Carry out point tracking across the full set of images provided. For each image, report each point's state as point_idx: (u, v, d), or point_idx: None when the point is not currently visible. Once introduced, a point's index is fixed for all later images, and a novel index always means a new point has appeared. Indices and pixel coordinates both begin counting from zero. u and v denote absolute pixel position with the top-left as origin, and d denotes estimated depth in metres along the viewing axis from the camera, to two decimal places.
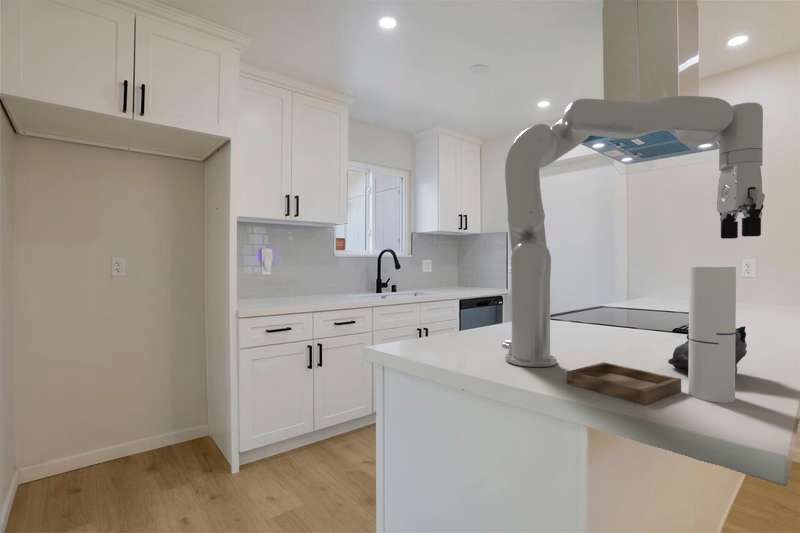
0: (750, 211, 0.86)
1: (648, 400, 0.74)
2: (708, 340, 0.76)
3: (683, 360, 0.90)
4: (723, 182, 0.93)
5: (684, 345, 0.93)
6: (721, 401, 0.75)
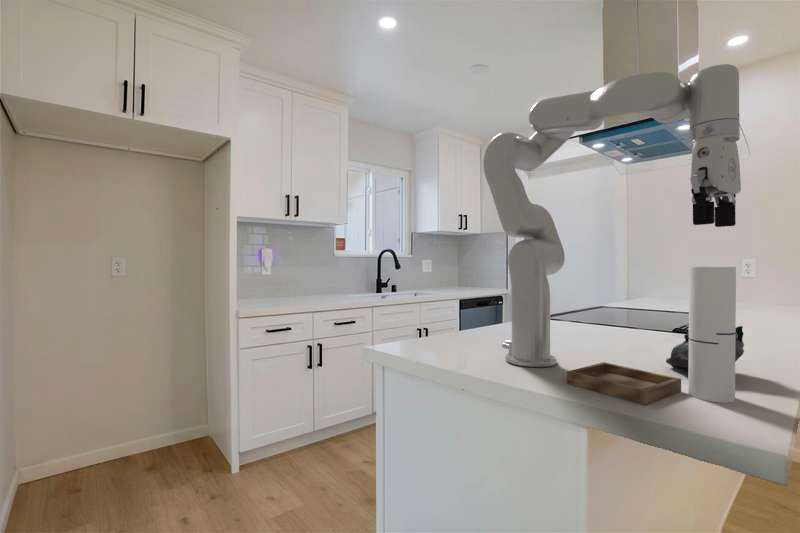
0: None
1: (648, 400, 0.74)
2: (708, 340, 0.76)
3: (681, 360, 0.91)
4: (730, 154, 0.75)
5: (682, 345, 0.93)
6: (721, 401, 0.75)
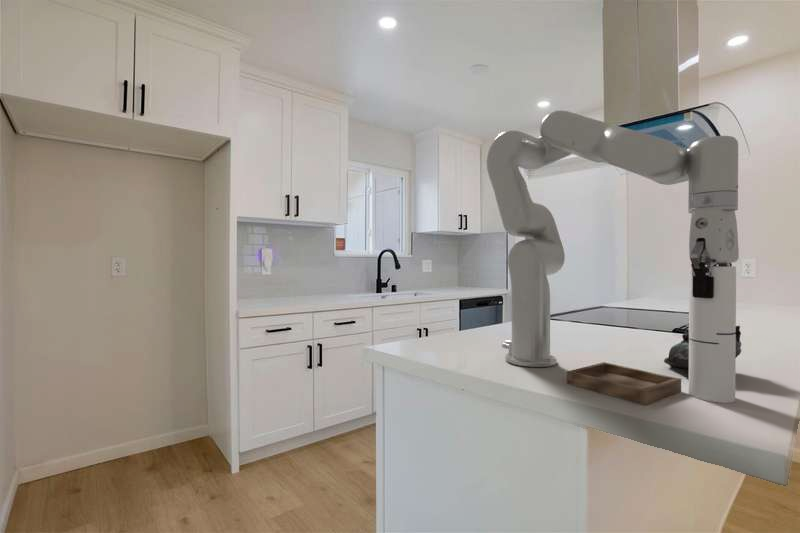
0: None
1: (648, 400, 0.74)
2: (708, 340, 0.76)
3: (679, 359, 0.91)
4: (728, 225, 0.75)
5: (680, 344, 0.94)
6: (721, 401, 0.75)
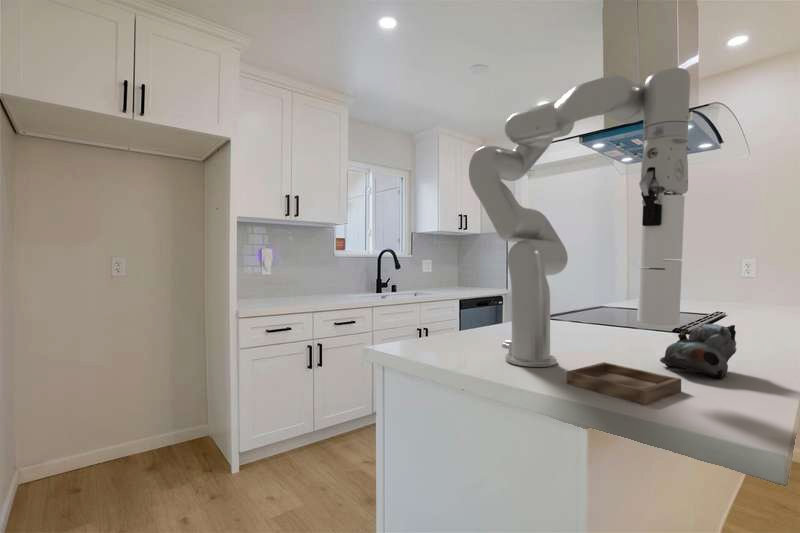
0: None
1: (648, 400, 0.74)
2: (655, 266, 0.79)
3: (676, 359, 0.92)
4: (678, 155, 0.78)
5: (676, 344, 0.94)
6: (665, 324, 0.79)
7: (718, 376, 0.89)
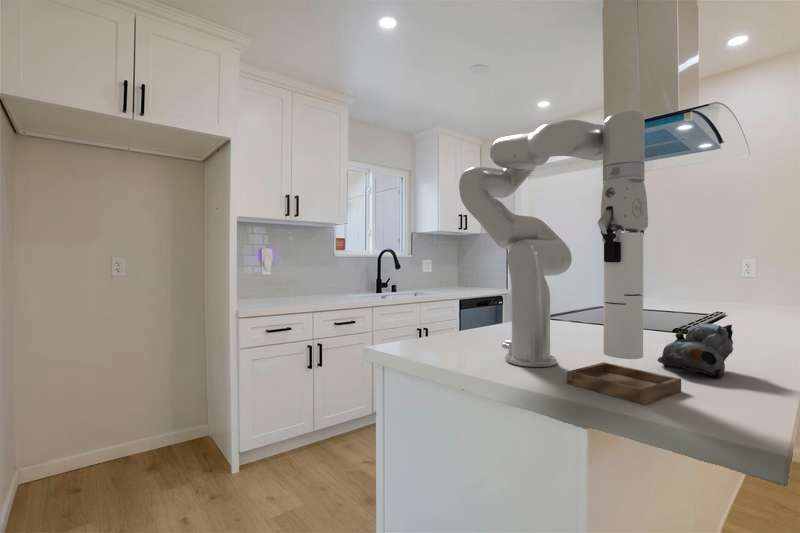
0: None
1: (648, 400, 0.74)
2: (617, 301, 0.81)
3: (674, 358, 0.92)
4: (635, 194, 0.81)
5: (674, 343, 0.95)
6: (628, 357, 0.81)
7: (715, 375, 0.90)
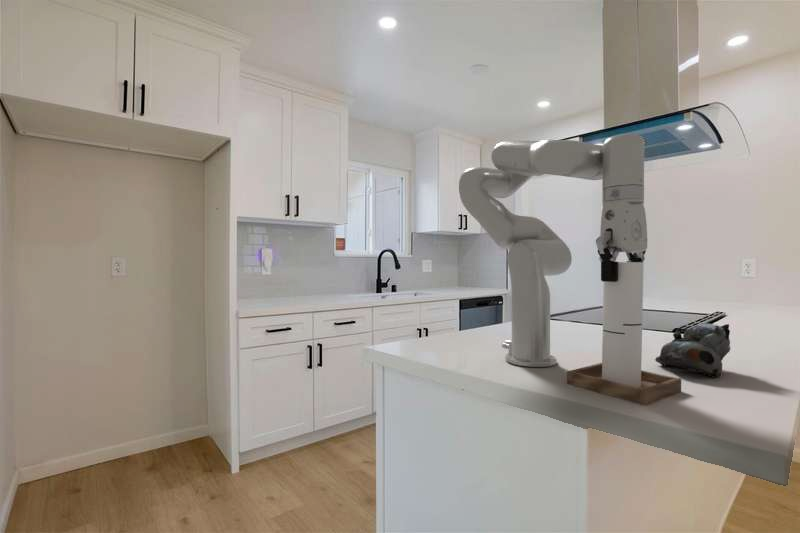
0: None
1: (648, 400, 0.74)
2: (616, 330, 0.82)
3: (672, 358, 0.92)
4: (634, 217, 0.81)
5: (672, 343, 0.95)
6: None
7: (713, 375, 0.90)
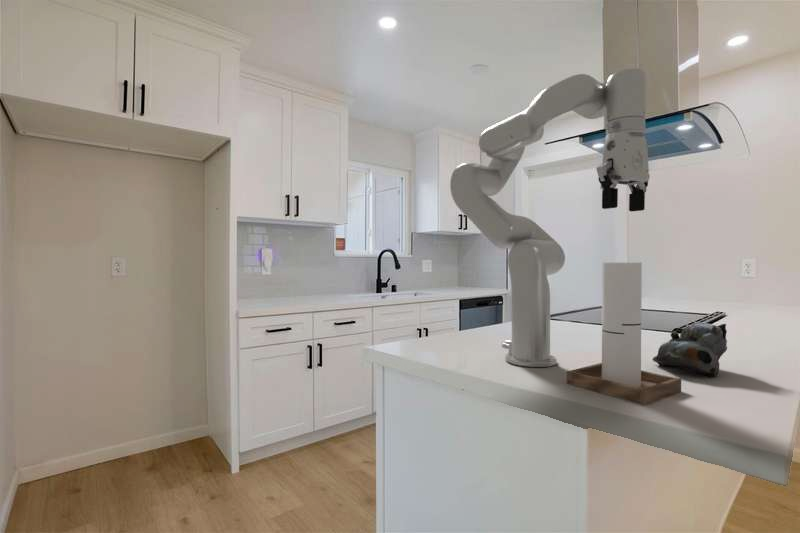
0: None
1: (648, 400, 0.74)
2: (615, 330, 0.82)
3: (670, 357, 0.93)
4: (635, 147, 0.86)
5: (670, 343, 0.95)
6: None
7: (710, 374, 0.90)
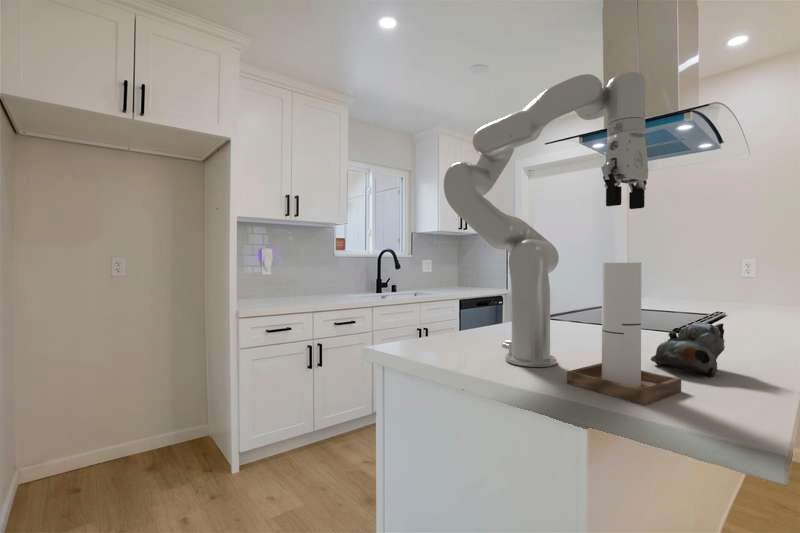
0: None
1: (648, 400, 0.74)
2: (615, 330, 0.82)
3: (668, 357, 0.93)
4: (636, 147, 0.90)
5: (668, 342, 0.96)
6: None
7: (708, 374, 0.91)
